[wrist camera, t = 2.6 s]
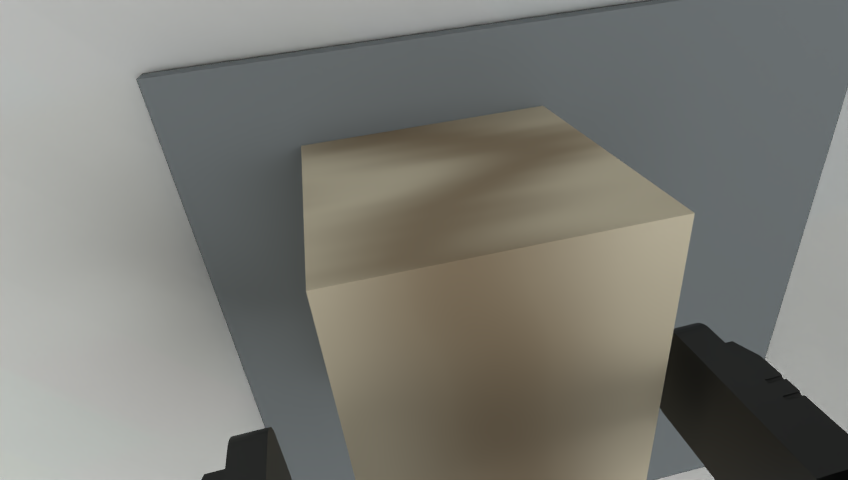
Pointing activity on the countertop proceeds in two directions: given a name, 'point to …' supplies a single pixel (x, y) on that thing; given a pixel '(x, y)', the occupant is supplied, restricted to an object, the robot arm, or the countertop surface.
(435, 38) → the grey mat
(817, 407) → the robot arm
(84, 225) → the countertop surface
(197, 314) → the countertop surface
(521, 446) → the beech block
